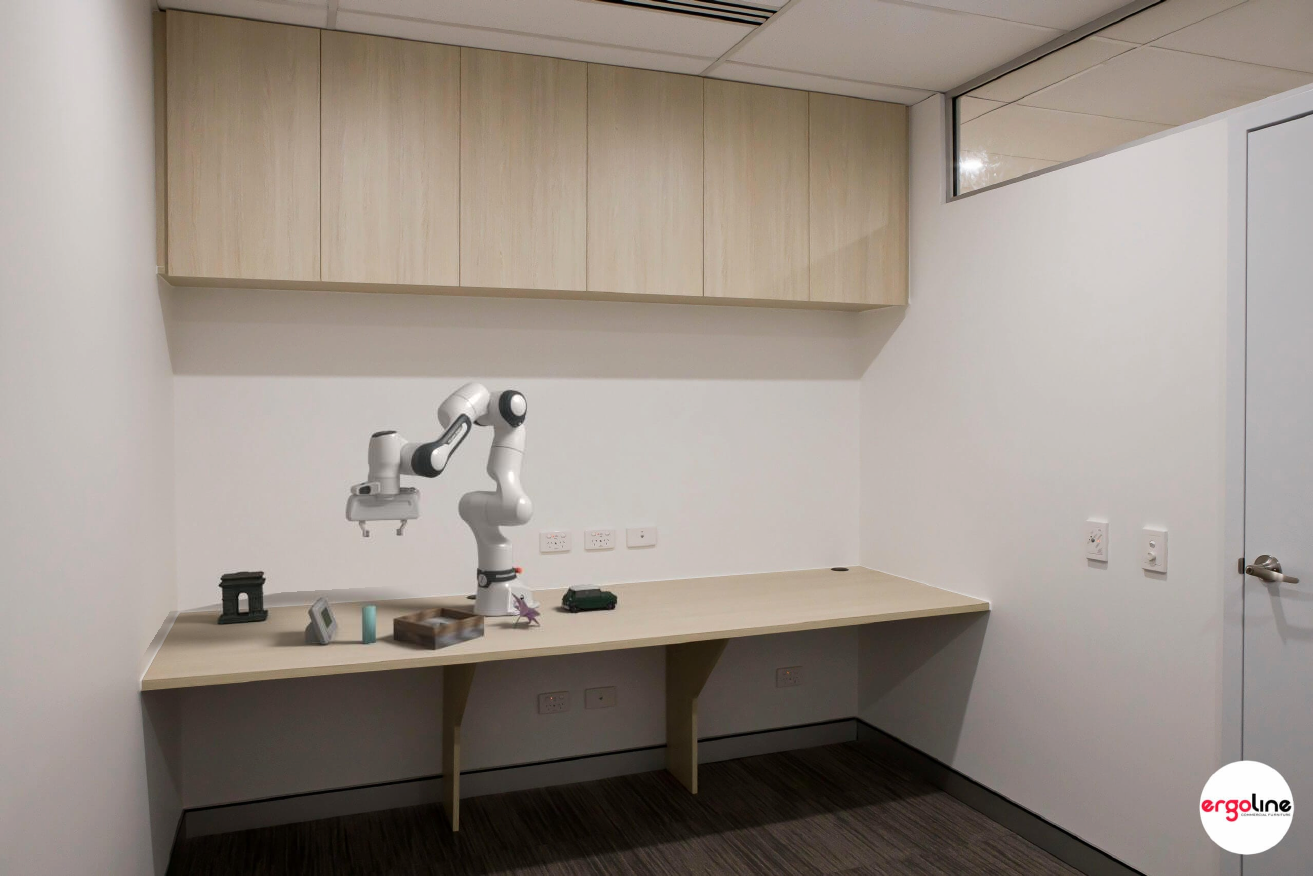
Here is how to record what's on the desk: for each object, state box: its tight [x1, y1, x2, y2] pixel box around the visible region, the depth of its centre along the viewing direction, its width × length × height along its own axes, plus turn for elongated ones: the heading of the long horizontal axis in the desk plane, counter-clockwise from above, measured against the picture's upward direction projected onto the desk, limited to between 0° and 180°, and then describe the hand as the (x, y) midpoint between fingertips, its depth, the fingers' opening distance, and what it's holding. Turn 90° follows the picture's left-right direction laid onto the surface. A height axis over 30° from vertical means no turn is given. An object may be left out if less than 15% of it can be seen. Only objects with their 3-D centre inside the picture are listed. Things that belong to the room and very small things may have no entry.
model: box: [217, 570, 269, 625], centre depth 269 cm, size 14×9×15 cm, turn 112°
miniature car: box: [561, 583, 619, 614], centre depth 286 cm, size 9×18×8 cm, turn 111°
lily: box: [511, 593, 541, 629], centre depth 263 cm, size 12×12×10 cm
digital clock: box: [304, 596, 339, 645], centre depth 248 cm, size 16×9×11 cm, turn 179°
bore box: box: [392, 606, 485, 651], centre depth 250 cm, size 18×18×6 cm
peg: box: [361, 605, 377, 645], centre depth 244 cm, size 4×4×10 cm
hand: (382, 536), depth 247 cm, fingers open, 8 cm apart
